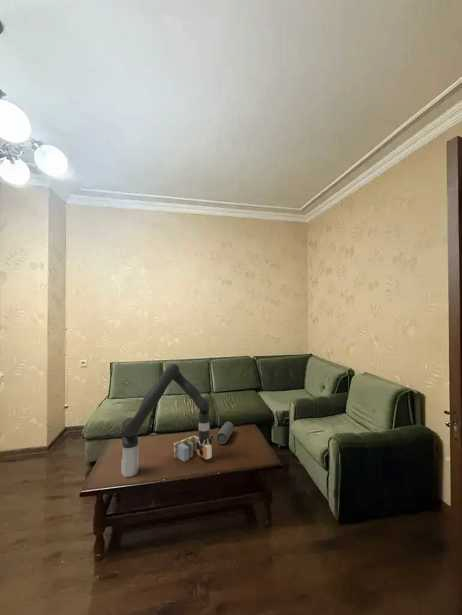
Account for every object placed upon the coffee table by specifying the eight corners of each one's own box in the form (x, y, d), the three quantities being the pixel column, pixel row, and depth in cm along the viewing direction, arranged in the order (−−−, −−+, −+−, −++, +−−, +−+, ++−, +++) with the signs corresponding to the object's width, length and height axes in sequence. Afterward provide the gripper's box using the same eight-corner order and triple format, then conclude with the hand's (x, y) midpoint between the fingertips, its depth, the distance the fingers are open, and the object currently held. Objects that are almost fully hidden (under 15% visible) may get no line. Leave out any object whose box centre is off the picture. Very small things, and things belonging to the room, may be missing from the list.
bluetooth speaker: (227, 446, 203) (227, 432, 204) (215, 445, 206) (215, 431, 206) (234, 433, 225) (234, 421, 226) (223, 432, 228) (223, 420, 228)
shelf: (182, 463, 180) (182, 448, 180) (173, 458, 187) (173, 443, 187) (203, 454, 192) (203, 439, 192) (194, 449, 199) (194, 435, 200)
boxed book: (197, 454, 186) (197, 442, 187) (202, 451, 190) (202, 440, 190) (206, 459, 179) (206, 447, 180) (211, 457, 182) (211, 445, 183)
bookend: (188, 458, 186) (188, 445, 186) (182, 455, 191) (182, 442, 191) (192, 456, 189) (192, 443, 189) (187, 453, 193) (187, 440, 194)
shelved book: (183, 461, 182) (183, 449, 182) (177, 457, 188) (177, 445, 188) (188, 459, 185) (188, 447, 185) (182, 455, 190) (182, 443, 191)
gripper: (208, 423, 193) (208, 448, 192) (192, 429, 183) (192, 455, 182) (215, 426, 187) (215, 451, 187) (199, 433, 177) (199, 459, 177)
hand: (204, 453), depth 184 cm, fingers closed on boxed book, 4 cm apart
